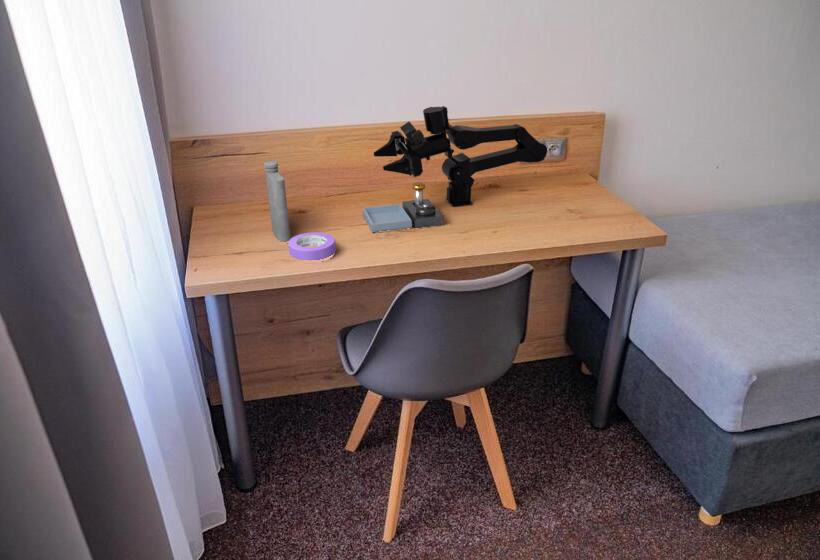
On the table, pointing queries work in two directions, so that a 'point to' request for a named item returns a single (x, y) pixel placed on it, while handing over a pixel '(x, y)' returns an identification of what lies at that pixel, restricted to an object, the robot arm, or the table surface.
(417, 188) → the lock pin
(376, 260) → the table surface
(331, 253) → the masking tape
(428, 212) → the grey holder base
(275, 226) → the hip flask
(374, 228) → the tray
